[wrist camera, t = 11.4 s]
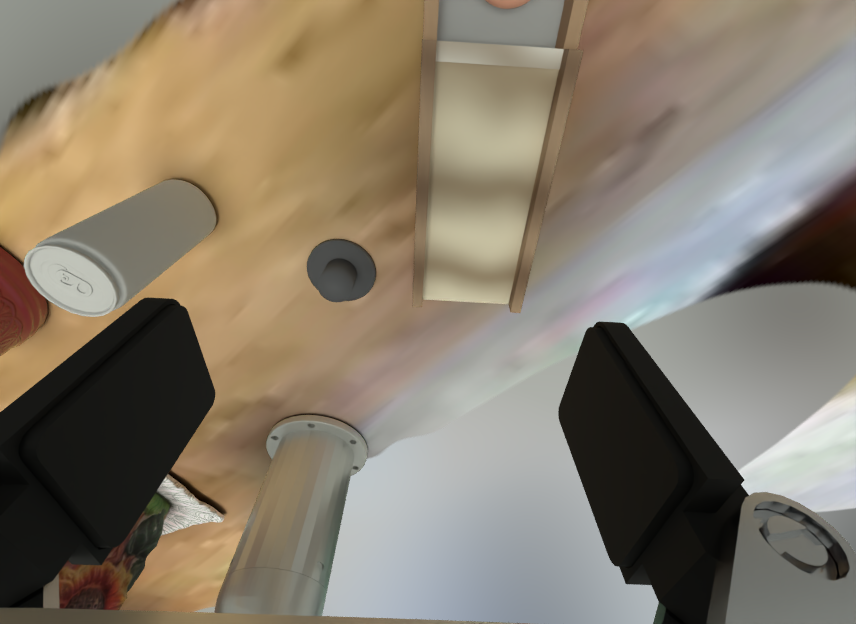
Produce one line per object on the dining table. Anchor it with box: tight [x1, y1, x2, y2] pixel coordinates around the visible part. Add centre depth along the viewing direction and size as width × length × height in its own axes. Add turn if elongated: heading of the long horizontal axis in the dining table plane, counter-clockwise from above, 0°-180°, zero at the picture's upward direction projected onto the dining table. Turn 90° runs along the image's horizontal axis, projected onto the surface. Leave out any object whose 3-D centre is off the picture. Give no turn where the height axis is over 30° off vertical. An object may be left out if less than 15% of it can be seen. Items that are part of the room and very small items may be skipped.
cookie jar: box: [59, 474, 225, 610], centre depth 43 cm, size 25×25×32 cm
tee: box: [307, 239, 376, 302], centre depth 32 cm, size 6×6×3 cm
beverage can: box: [24, 179, 216, 317], centre depth 26 cm, size 5×5×12 cm
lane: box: [412, 39, 584, 313], centre depth 28 cm, size 18×9×4 cm, turn 177°
